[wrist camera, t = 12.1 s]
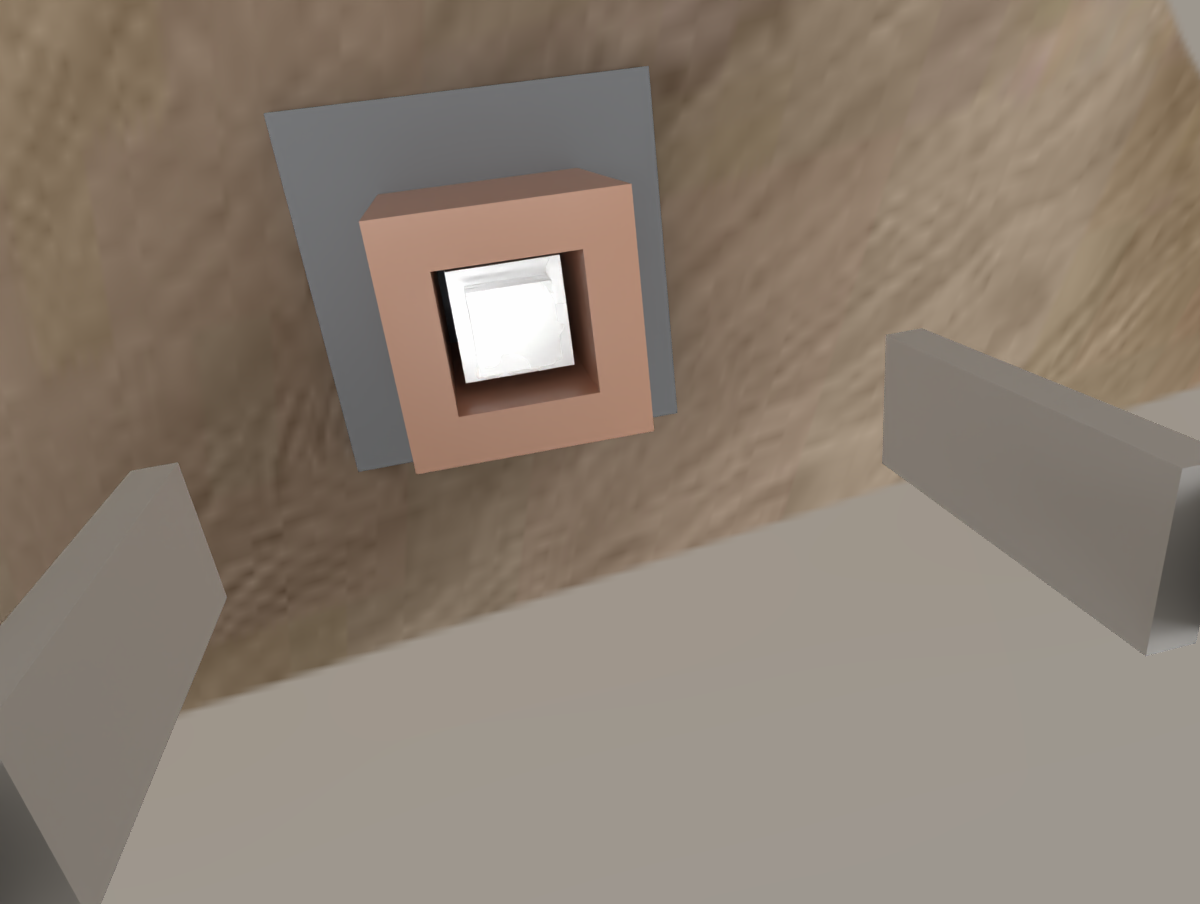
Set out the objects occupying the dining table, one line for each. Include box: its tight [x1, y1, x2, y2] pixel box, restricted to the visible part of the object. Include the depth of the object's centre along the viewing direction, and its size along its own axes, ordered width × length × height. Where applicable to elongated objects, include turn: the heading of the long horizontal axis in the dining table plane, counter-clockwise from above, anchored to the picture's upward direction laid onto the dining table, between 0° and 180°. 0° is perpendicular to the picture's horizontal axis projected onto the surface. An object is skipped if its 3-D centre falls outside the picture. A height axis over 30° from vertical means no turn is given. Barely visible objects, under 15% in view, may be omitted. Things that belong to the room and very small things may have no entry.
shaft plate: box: [264, 66, 677, 472], centre depth 32 cm, size 14×14×1 cm
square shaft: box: [444, 253, 575, 383], centre depth 28 cm, size 4×4×8 cm
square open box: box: [359, 168, 654, 474], centre depth 28 cm, size 8×8×9 cm
